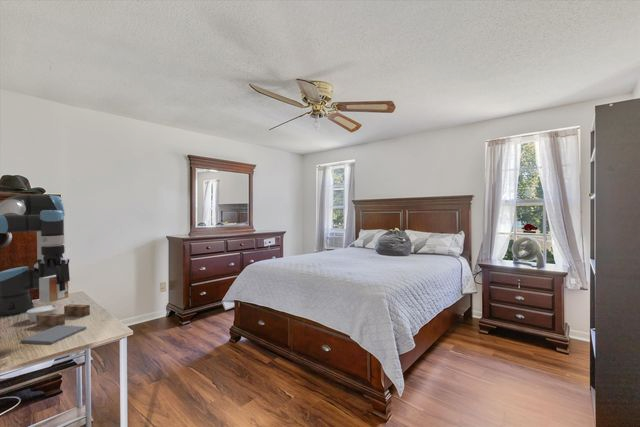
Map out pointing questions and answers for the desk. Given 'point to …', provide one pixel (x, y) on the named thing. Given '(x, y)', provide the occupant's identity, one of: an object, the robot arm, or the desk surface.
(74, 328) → the slate grey mat
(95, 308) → the desk surface
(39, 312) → the ramekin
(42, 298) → the small box
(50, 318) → the walnut crossbar stand
